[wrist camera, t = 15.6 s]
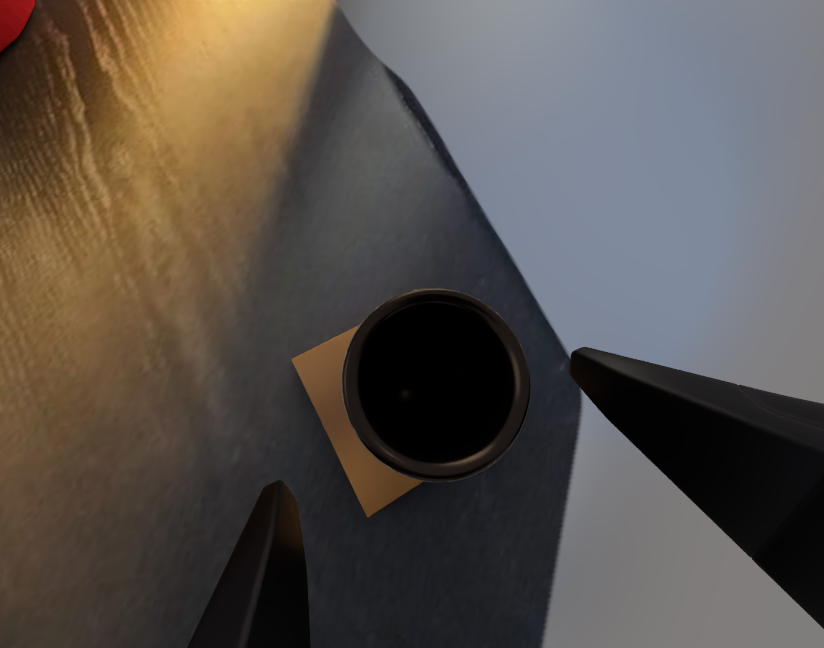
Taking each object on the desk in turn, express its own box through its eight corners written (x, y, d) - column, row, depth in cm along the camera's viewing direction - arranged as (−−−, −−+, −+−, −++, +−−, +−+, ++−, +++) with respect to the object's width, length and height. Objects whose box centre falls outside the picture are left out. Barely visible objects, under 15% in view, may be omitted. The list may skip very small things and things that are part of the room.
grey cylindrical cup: (452, 430, 17) (556, 461, 7) (368, 445, 16) (352, 504, 6) (436, 348, 18) (508, 276, 8) (357, 360, 17) (330, 297, 7)
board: (504, 422, 19) (512, 423, 17) (368, 510, 17) (367, 518, 15) (428, 295, 20) (431, 288, 19) (296, 362, 18) (290, 359, 17)
